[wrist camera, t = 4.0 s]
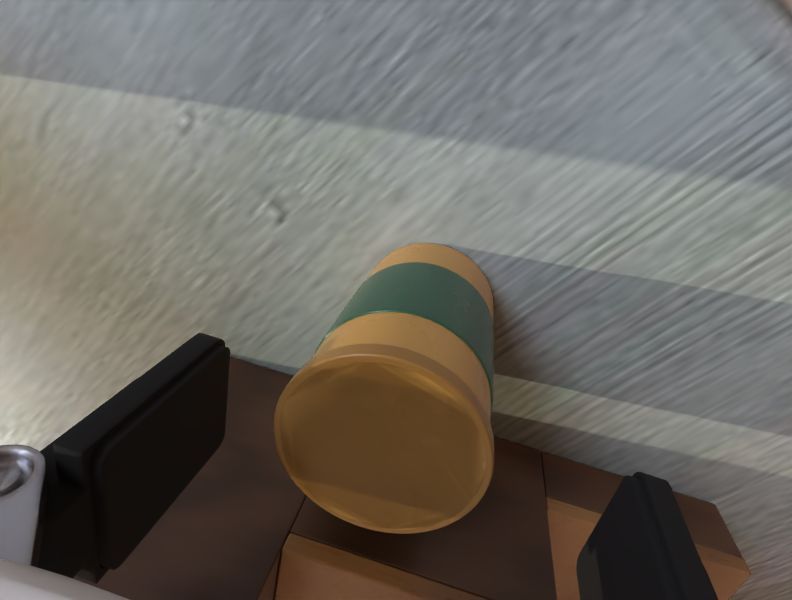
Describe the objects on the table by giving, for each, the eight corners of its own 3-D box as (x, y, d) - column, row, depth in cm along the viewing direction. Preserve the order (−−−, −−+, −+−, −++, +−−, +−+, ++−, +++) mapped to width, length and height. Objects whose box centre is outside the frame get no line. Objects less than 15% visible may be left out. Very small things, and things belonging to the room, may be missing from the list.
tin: (376, 224, 17) (283, 325, 9) (514, 260, 16) (527, 396, 9) (353, 341, 19) (263, 496, 12) (474, 377, 18) (458, 560, 11)
